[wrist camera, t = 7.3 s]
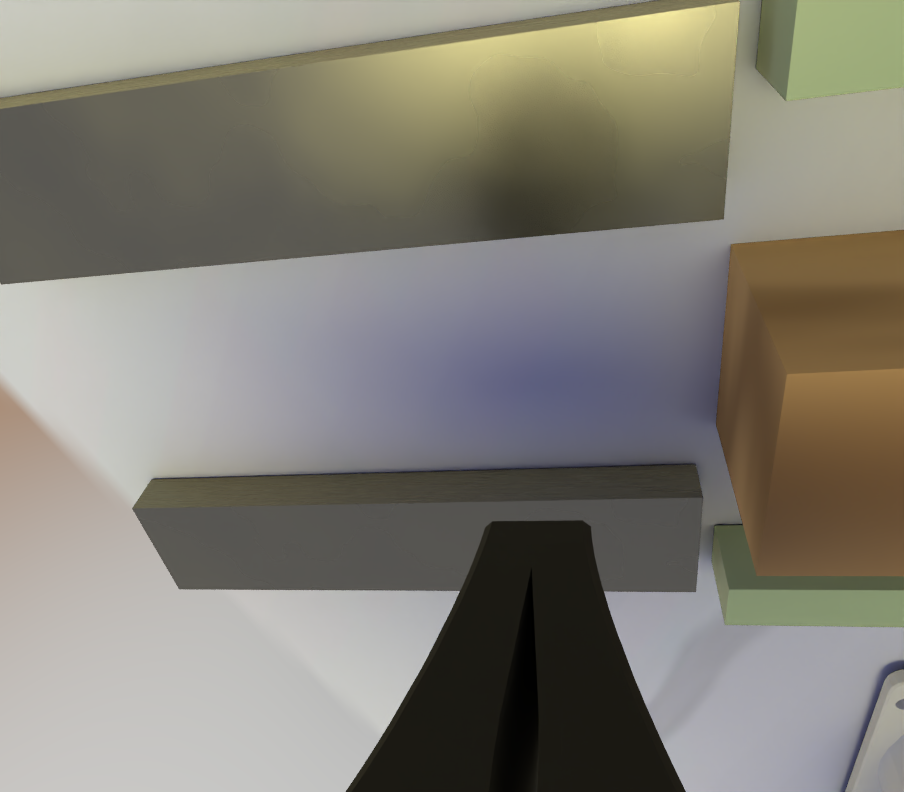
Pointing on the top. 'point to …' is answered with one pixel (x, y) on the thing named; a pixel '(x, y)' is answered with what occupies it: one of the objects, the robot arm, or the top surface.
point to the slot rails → (388, 227)
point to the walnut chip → (816, 402)
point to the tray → (794, 77)
